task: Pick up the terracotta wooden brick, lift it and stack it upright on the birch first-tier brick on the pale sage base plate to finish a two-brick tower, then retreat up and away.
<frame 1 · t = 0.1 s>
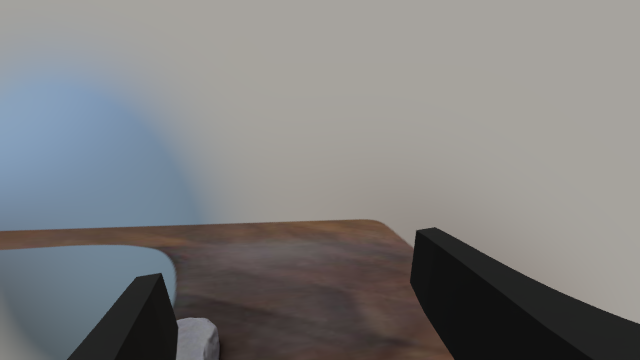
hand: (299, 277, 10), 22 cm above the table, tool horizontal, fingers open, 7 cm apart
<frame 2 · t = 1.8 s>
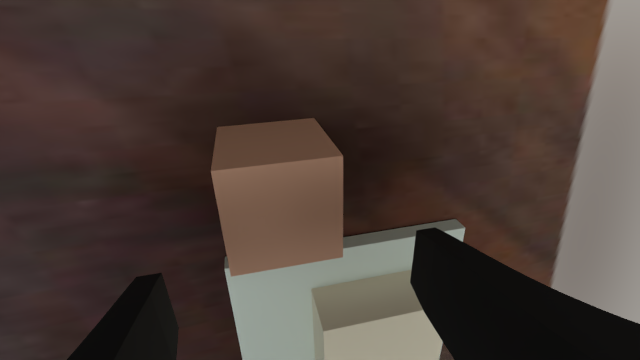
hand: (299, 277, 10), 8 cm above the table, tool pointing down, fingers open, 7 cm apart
top brick: (271, 165, 17), on the table
base plate: (347, 321, 23), on the table
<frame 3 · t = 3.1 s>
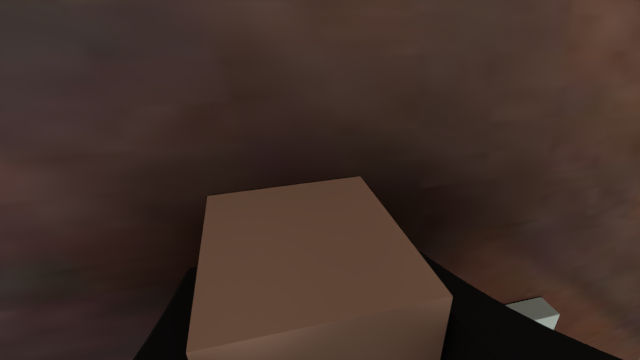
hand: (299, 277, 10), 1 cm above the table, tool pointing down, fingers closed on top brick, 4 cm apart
top brick: (292, 247, 11), on the table, touching gripper
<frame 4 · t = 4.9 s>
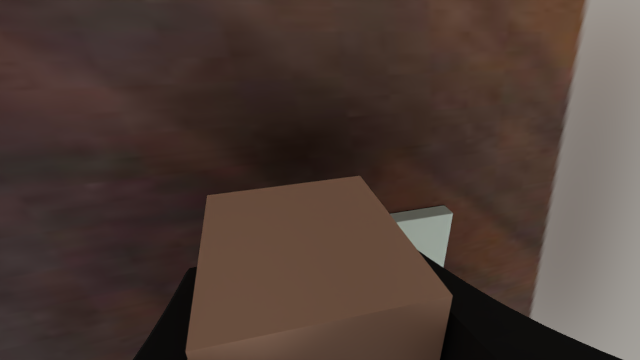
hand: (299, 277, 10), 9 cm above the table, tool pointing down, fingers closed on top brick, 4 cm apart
top brick: (291, 246, 11), point 8 cm above the table, touching gripper
base plate: (340, 303, 24), on the table
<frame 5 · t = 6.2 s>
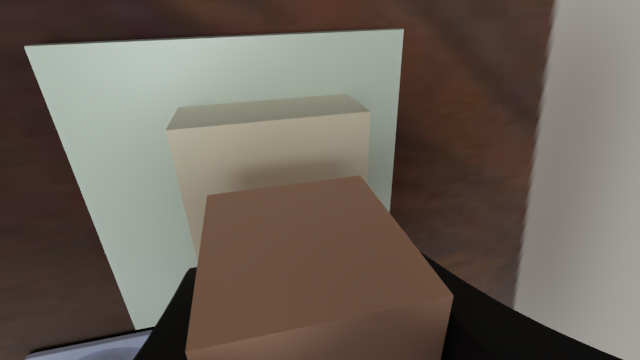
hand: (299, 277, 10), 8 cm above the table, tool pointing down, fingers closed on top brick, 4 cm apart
top brick: (292, 246, 11), point 7 cm above the table, touching gripper
base plate: (253, 187, 17), on the table
when the fingers open (6 cm above the table, at t = 7.0 s): top brick stays where it is, resting on base plate.
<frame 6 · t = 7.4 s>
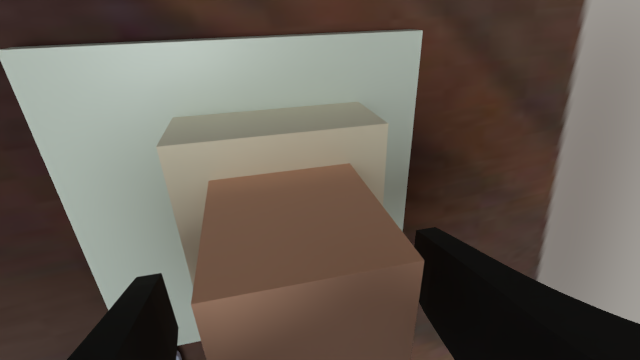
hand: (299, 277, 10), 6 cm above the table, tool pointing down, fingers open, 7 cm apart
top brick: (287, 229, 12), point 4 cm above the table, touching base plate
base plate: (255, 202, 16), on the table
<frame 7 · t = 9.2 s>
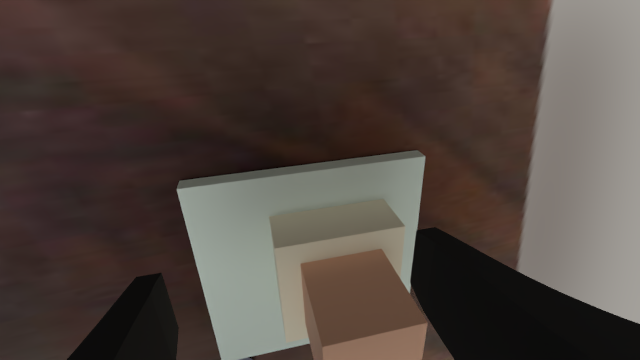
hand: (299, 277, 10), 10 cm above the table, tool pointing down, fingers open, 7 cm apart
top brick: (342, 287, 19), point 4 cm above the table, touching base plate
base plate: (311, 258, 23), on the table
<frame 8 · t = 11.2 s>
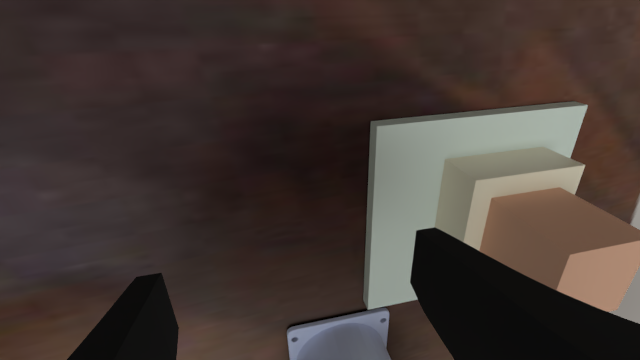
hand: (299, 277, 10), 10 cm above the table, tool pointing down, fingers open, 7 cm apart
top brick: (517, 225, 20), point 4 cm above the table, touching base plate
base plate: (460, 208, 24), on the table
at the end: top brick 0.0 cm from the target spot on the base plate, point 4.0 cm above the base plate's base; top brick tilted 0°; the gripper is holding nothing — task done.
